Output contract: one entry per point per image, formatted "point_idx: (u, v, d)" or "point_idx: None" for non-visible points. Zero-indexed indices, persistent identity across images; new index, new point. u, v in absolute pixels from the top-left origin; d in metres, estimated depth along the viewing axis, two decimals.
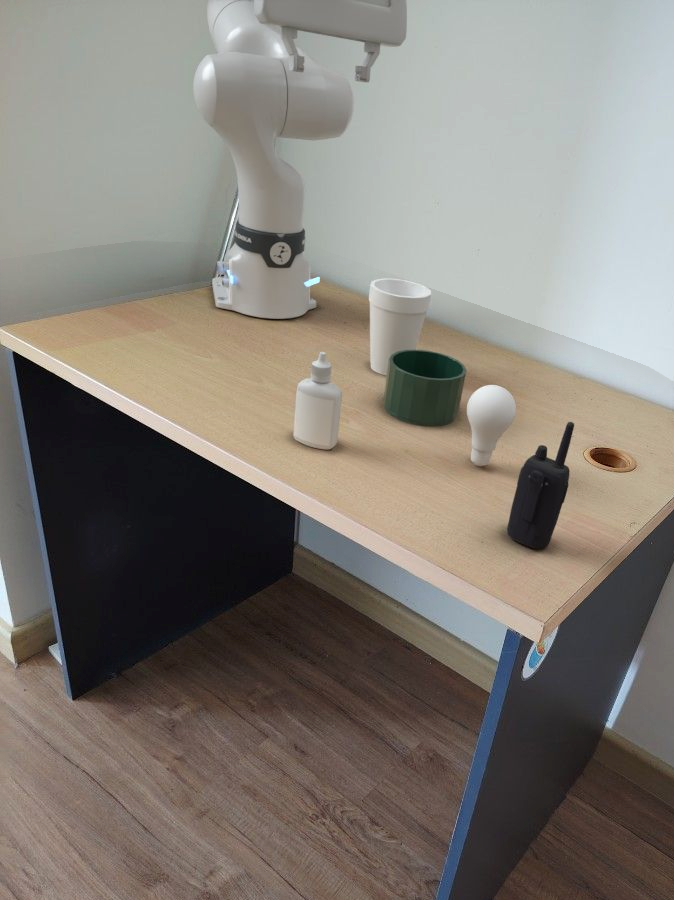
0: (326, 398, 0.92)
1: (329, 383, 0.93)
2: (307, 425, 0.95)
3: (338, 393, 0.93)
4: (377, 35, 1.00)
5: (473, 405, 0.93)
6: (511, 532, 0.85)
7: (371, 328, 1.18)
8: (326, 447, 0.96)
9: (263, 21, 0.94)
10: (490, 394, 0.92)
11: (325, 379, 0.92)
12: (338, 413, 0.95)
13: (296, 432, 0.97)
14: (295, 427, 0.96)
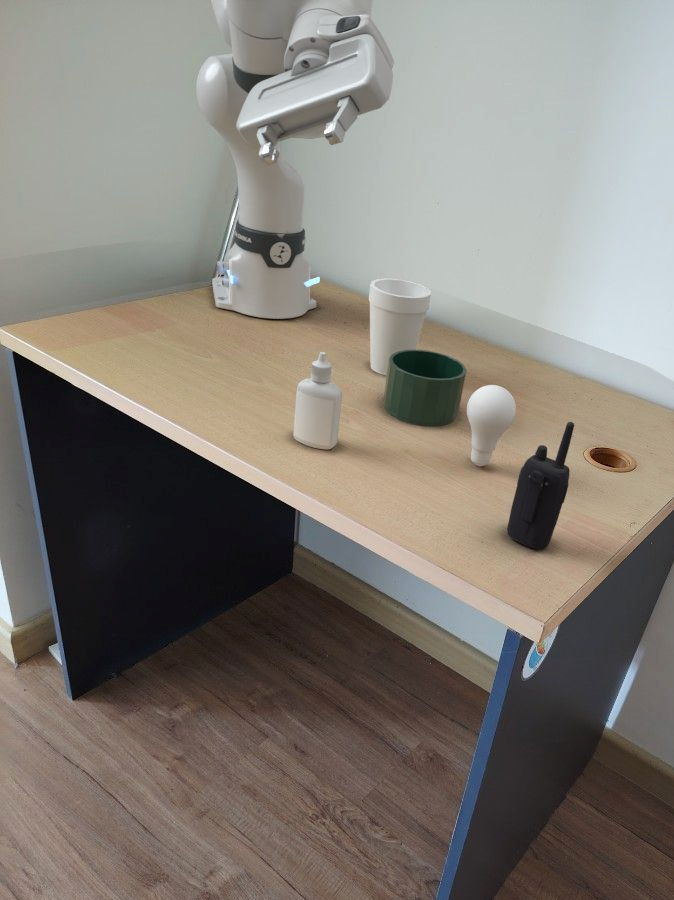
0: (326, 398, 0.92)
1: (329, 383, 0.93)
2: (307, 425, 0.95)
3: (338, 393, 0.93)
4: None
5: (473, 405, 0.93)
6: (511, 532, 0.85)
7: (371, 328, 1.18)
8: (326, 447, 0.96)
9: (378, 99, 0.85)
10: (490, 394, 0.92)
11: (325, 379, 0.92)
12: (338, 413, 0.95)
13: (296, 432, 0.97)
14: (295, 427, 0.96)
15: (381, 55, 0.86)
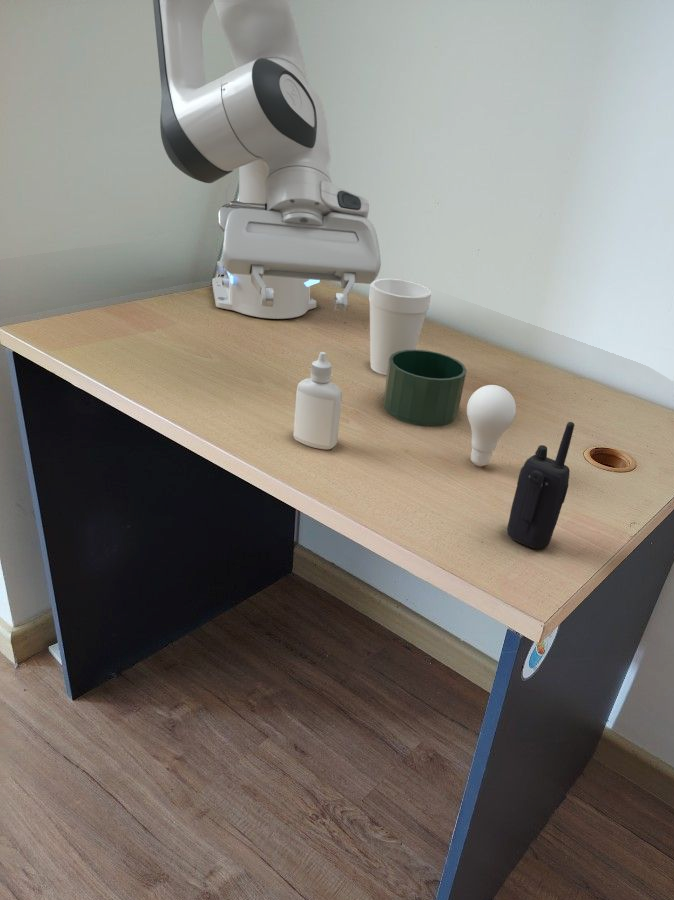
0: (326, 398, 0.92)
1: (329, 383, 0.93)
2: (307, 425, 0.95)
3: (338, 393, 0.93)
4: None
5: (473, 405, 0.93)
6: (511, 532, 0.85)
7: (371, 328, 1.18)
8: (326, 447, 0.96)
9: (373, 280, 1.01)
10: (490, 394, 0.92)
11: (325, 379, 0.92)
12: (338, 413, 0.95)
13: (296, 432, 0.97)
14: (295, 427, 0.96)
15: None
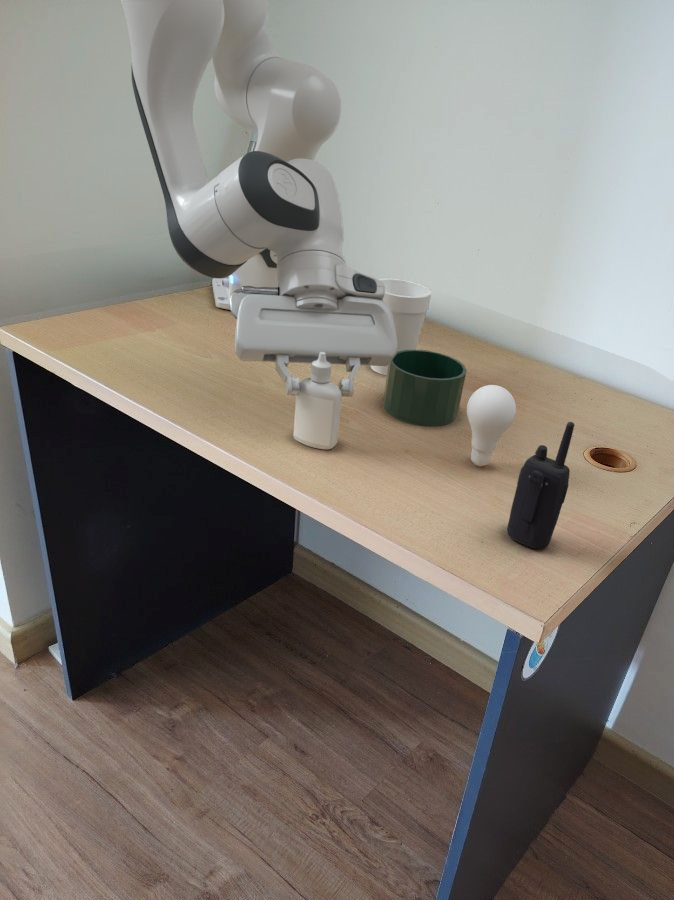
0: (326, 398, 0.92)
1: (329, 383, 0.93)
2: (307, 425, 0.95)
3: (338, 393, 0.93)
4: None
5: (473, 405, 0.93)
6: (511, 532, 0.85)
7: None
8: (326, 447, 0.96)
9: (389, 362, 0.98)
10: (490, 394, 0.92)
11: (325, 379, 0.92)
12: (338, 413, 0.95)
13: (296, 432, 0.97)
14: (295, 427, 0.96)
15: None
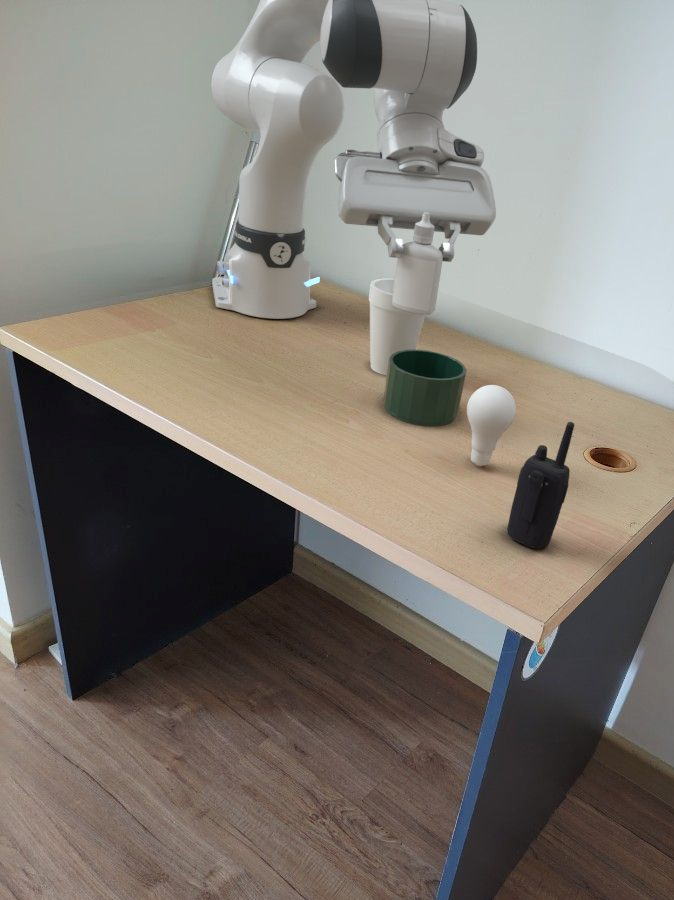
0: (428, 259, 0.94)
1: (431, 245, 0.95)
2: (408, 290, 0.97)
3: (440, 255, 0.95)
4: None
5: (473, 405, 0.93)
6: (511, 532, 0.85)
7: (371, 328, 1.18)
8: (425, 312, 0.98)
9: (486, 231, 0.99)
10: (490, 394, 0.92)
11: (428, 239, 0.94)
12: (438, 277, 0.96)
13: (395, 298, 0.98)
14: (394, 293, 0.98)
15: None
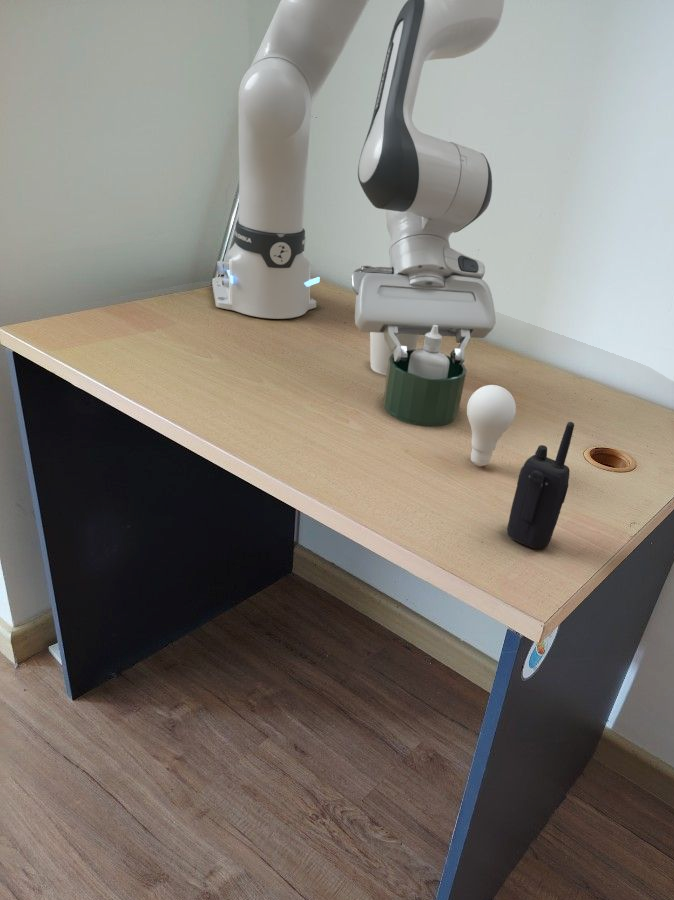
0: (437, 365, 1.06)
1: (439, 352, 1.06)
2: None
3: (447, 361, 1.06)
4: None
5: (473, 405, 0.93)
6: (511, 532, 0.85)
7: None
8: None
9: (487, 334, 1.10)
10: (490, 394, 0.92)
11: (437, 348, 1.05)
12: None
13: None
14: None
15: None
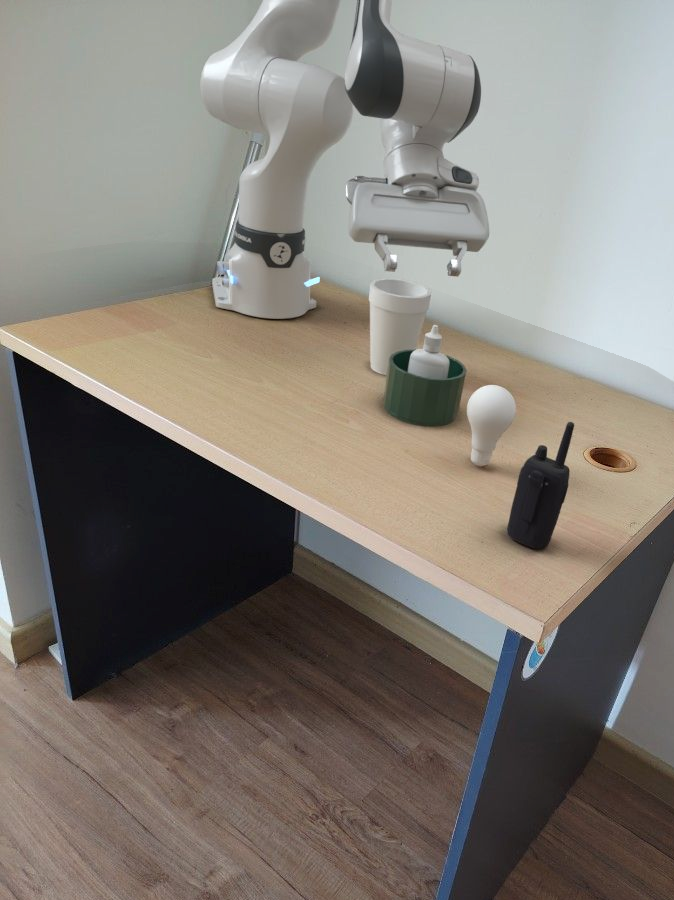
0: (437, 365, 1.06)
1: (439, 352, 1.06)
2: None
3: (447, 361, 1.06)
4: None
5: (473, 405, 0.93)
6: (511, 532, 0.85)
7: (371, 328, 1.18)
8: None
9: None
10: (490, 394, 0.92)
11: (437, 348, 1.05)
12: None
13: None
14: None
15: None
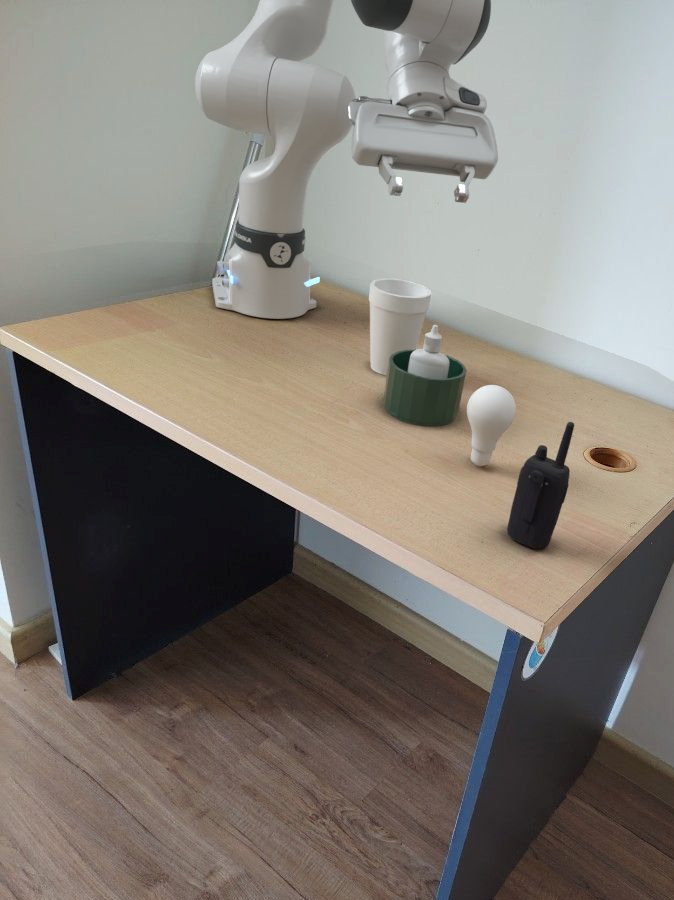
0: (437, 365, 1.06)
1: (439, 352, 1.06)
2: None
3: (447, 361, 1.06)
4: None
5: (473, 405, 0.93)
6: (511, 532, 0.85)
7: (371, 328, 1.18)
8: None
9: (489, 174, 1.06)
10: (490, 394, 0.92)
11: (437, 348, 1.05)
12: None
13: None
14: None
15: None
